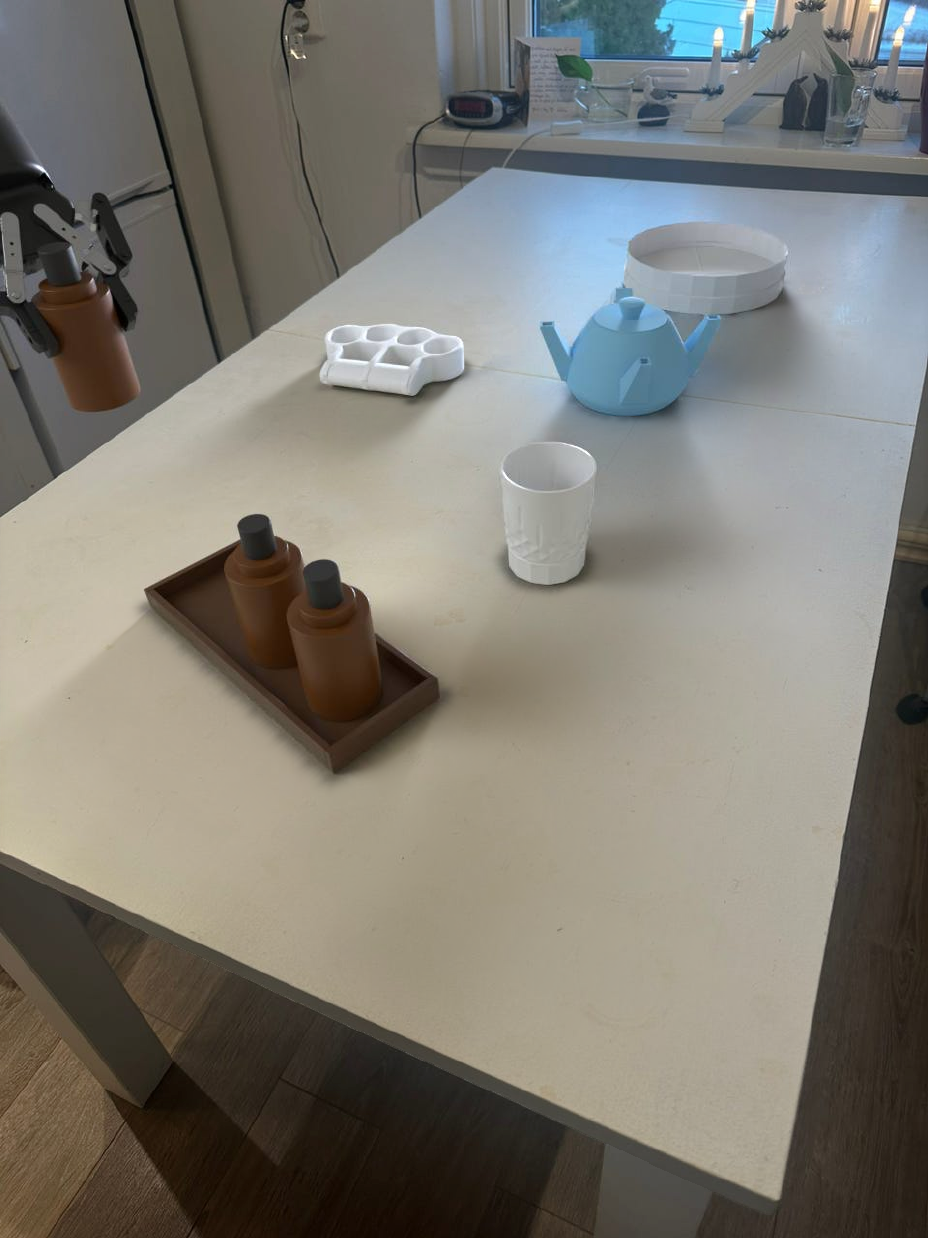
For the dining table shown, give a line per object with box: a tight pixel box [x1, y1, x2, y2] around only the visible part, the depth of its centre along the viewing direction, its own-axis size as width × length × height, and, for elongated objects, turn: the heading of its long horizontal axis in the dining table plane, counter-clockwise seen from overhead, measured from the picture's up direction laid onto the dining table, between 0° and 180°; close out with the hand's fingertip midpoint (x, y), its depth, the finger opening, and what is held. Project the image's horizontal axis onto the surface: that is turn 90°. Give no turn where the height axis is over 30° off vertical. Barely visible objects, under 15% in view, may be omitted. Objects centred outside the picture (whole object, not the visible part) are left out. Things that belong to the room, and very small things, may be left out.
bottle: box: [30, 242, 142, 413], centre depth 69 cm, size 6×6×12 cm
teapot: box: [539, 287, 723, 417], centre depth 98 cm, size 15×15×11 cm
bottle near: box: [287, 558, 383, 722], centre depth 62 cm, size 6×6×12 cm
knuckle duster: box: [319, 323, 465, 397], centre depth 107 cm, size 3×18×15 cm
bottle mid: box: [224, 513, 306, 669], centre depth 67 cm, size 6×6×12 cm
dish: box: [623, 221, 789, 316], centre depth 123 cm, size 22×22×5 cm
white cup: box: [499, 441, 598, 586], centre depth 75 cm, size 8×8×10 cm
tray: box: [143, 538, 440, 775], centre depth 70 cm, size 26×10×2 cm, turn 44°
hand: (93, 338), depth 68 cm, fingers closed on bottle, 6 cm apart
